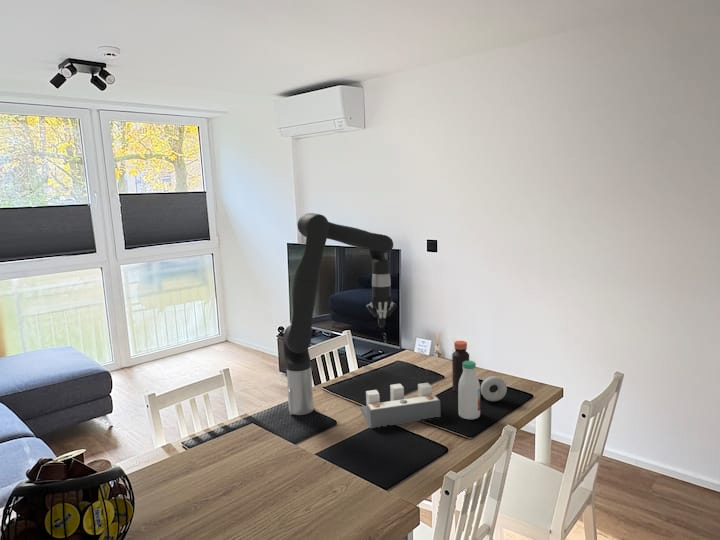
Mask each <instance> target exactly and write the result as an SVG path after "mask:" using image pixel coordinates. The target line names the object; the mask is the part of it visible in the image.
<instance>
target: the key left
mask: <svg viewBox="0 0 720 540" xmlns="http://www.w3.org/2000/svg"><path fill="white" fill-rule="evenodd" d="M380 397H381V396H380V393H379V391H378V389H372V390H366V391H365V400H366V401H365V403H366V404H365V406H367V405H368V404H374V403H381V401H380Z"/></svg>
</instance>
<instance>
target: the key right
mask: <svg viewBox="0 0 720 540" xmlns="http://www.w3.org/2000/svg"><path fill="white" fill-rule="evenodd" d="M430 395H433V386H432V385H431V384H430V383H429V382H424V383H417V397H423V396H430Z"/></svg>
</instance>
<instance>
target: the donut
mask: <svg viewBox="0 0 720 540" xmlns="http://www.w3.org/2000/svg"><path fill="white" fill-rule="evenodd" d="M492 386H496V387H497V390H496V391H495V392H493V391H492V392H491V391H490V388H491V387H492ZM507 390H508V388H507V383H506V382H505V380H503V378H501V377H499V376H497V375H496V376H495V375H492V376H491V375H490V376H488V377H486V378H484V379H483V381H482V382H481V384H480V395H482V397H483V398H484V399H485V400H486V401H488V402H489V401H490V402H498V401H501V400H502V399H503V398H504V397H505V396H506V394H507Z"/></svg>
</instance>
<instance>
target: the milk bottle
mask: <svg viewBox="0 0 720 540" xmlns="http://www.w3.org/2000/svg"><path fill="white" fill-rule="evenodd" d="M462 366H463V367H462V368H463V373H462V375H461V377H460V380H459V384H458V392H457V393H458V394H457V397H458V398H457V399H458V401H457V403H458V407H457V408H458V410H457V411H458V416H459V417H460V418H461V419H465V420H475V419H479V417H481V389H480V388H481V384H480V381H479V378H478V376H477V373H476V366H477V365H476V362H475V361H473V360H469V361H464V362H463V363H462Z"/></svg>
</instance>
